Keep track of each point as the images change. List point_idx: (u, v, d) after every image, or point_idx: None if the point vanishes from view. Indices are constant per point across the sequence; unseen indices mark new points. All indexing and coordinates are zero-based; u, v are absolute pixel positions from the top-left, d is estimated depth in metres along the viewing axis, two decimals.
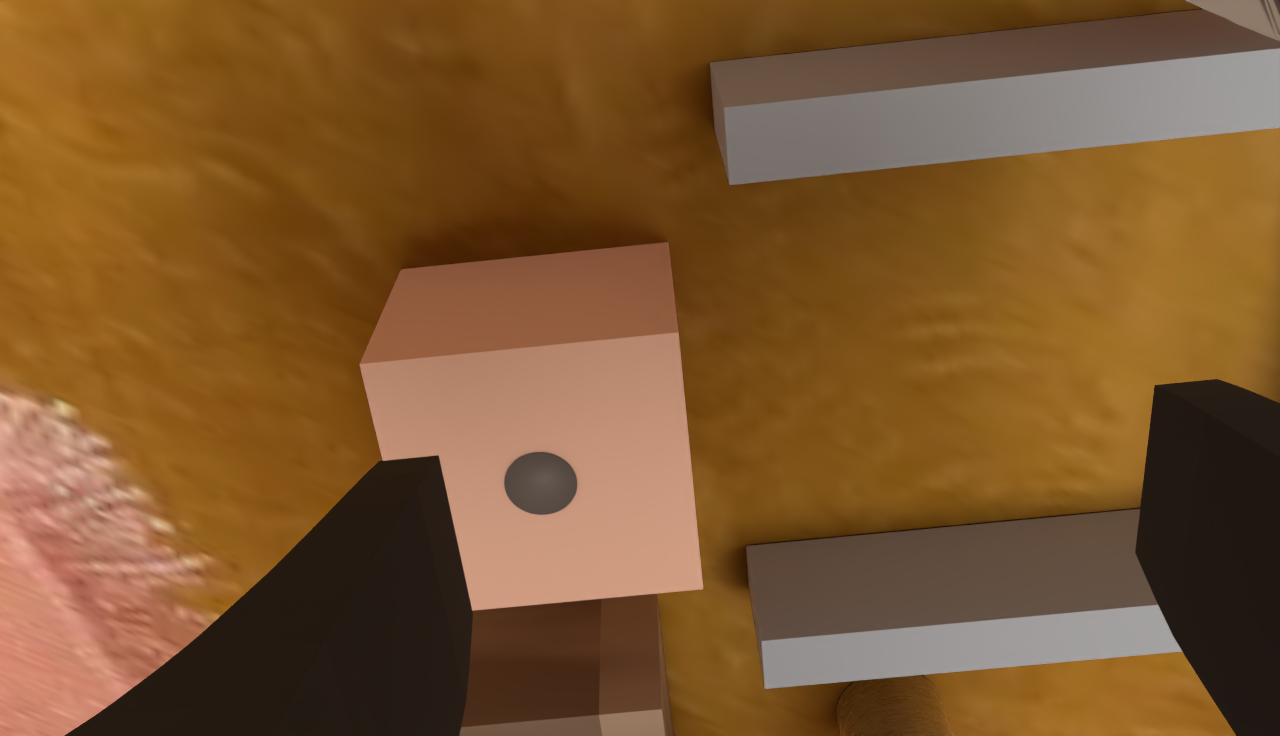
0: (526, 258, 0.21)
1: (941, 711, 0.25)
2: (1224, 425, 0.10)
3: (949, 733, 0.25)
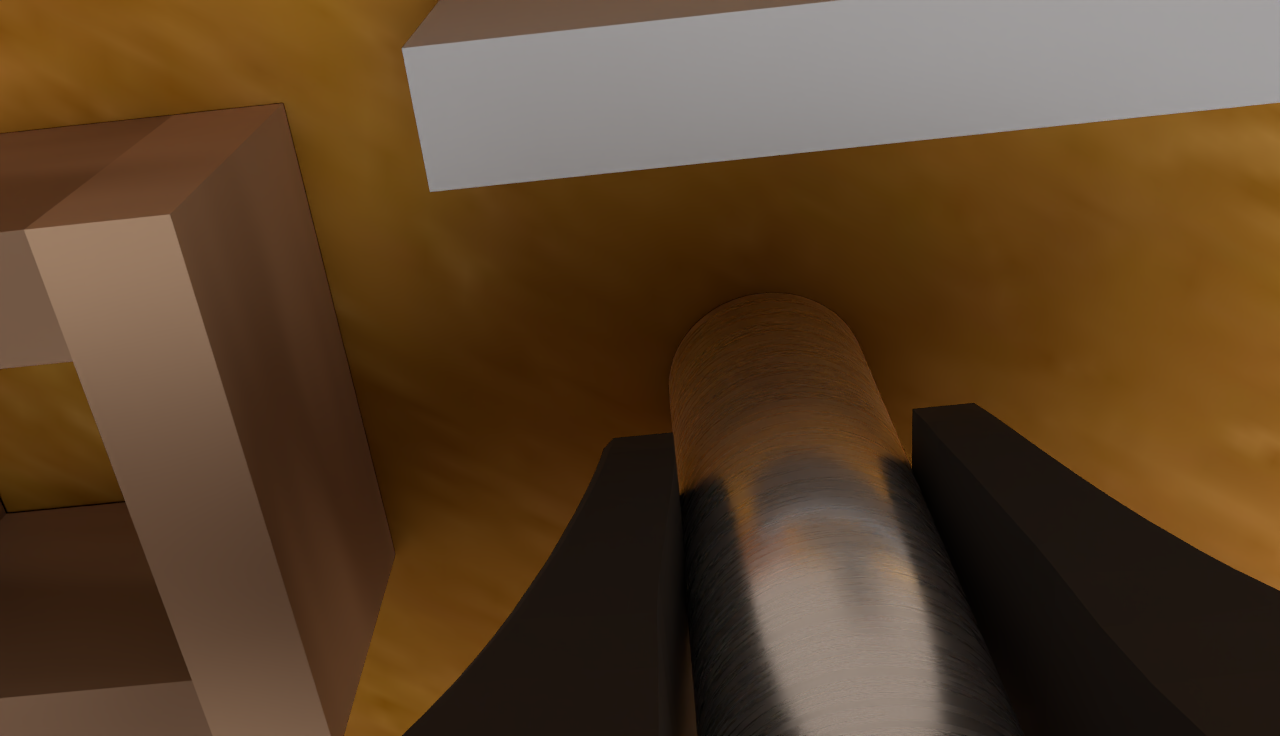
0: None
1: (861, 359, 0.13)
2: (951, 451, 0.10)
3: (873, 387, 0.12)
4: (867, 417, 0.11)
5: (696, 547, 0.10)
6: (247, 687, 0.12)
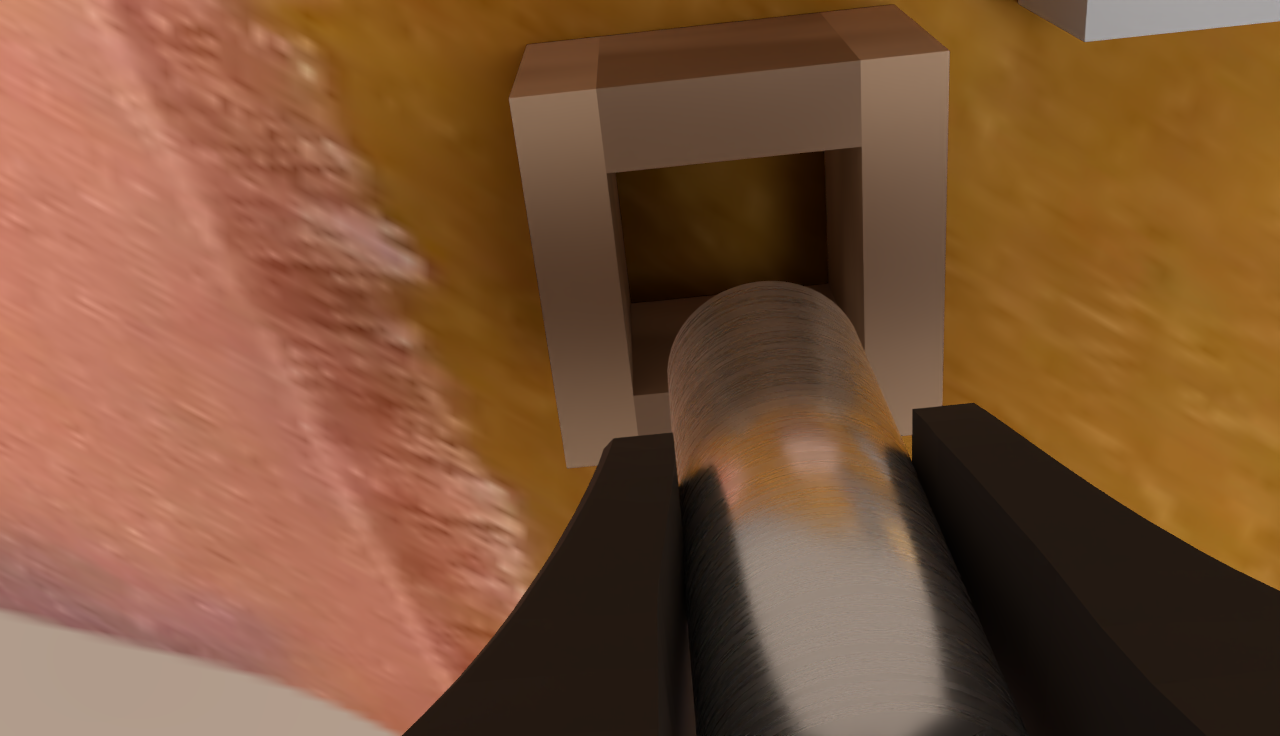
0: None
1: (857, 346, 0.13)
2: (951, 451, 0.10)
3: (870, 373, 0.12)
4: (862, 400, 0.11)
5: (693, 530, 0.10)
6: (898, 378, 0.18)
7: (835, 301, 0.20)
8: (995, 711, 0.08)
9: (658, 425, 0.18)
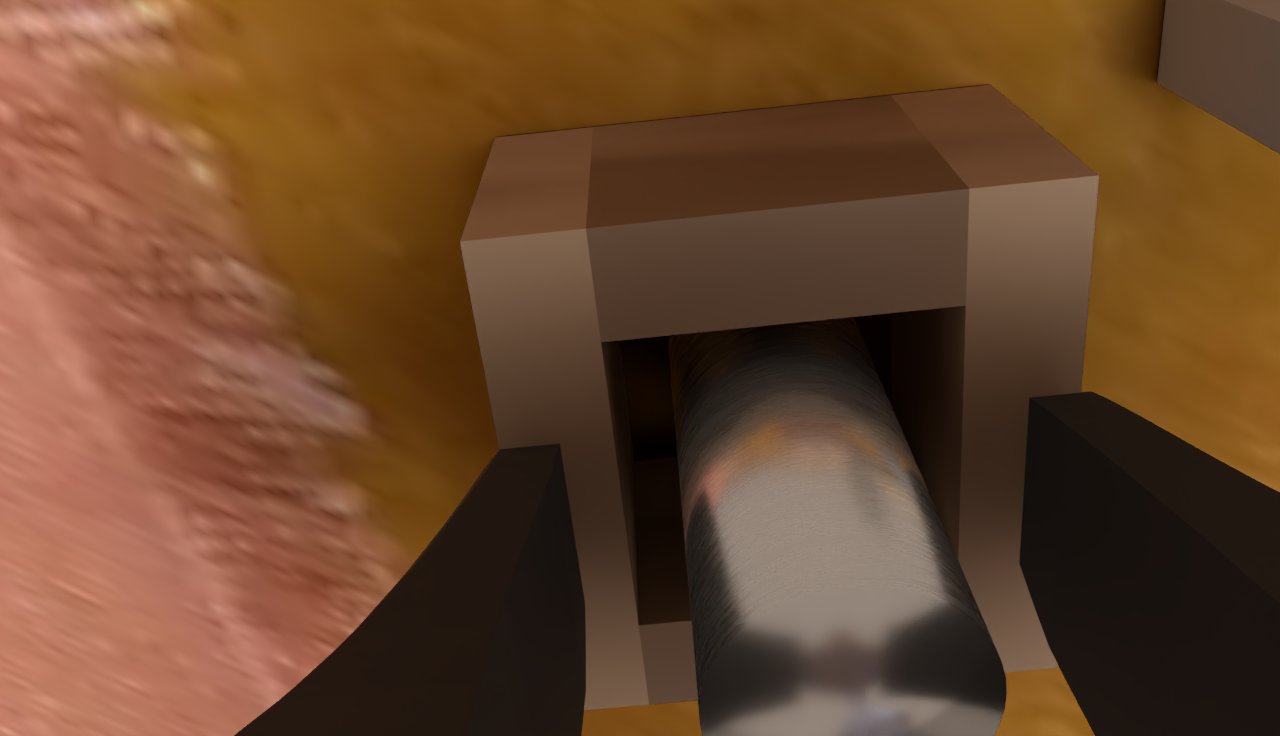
0: None
1: None
2: (1083, 439, 0.10)
3: (852, 323, 0.14)
4: (844, 343, 0.12)
5: (689, 455, 0.12)
6: (1002, 602, 0.13)
7: None
8: (951, 590, 0.09)
9: (672, 662, 0.13)
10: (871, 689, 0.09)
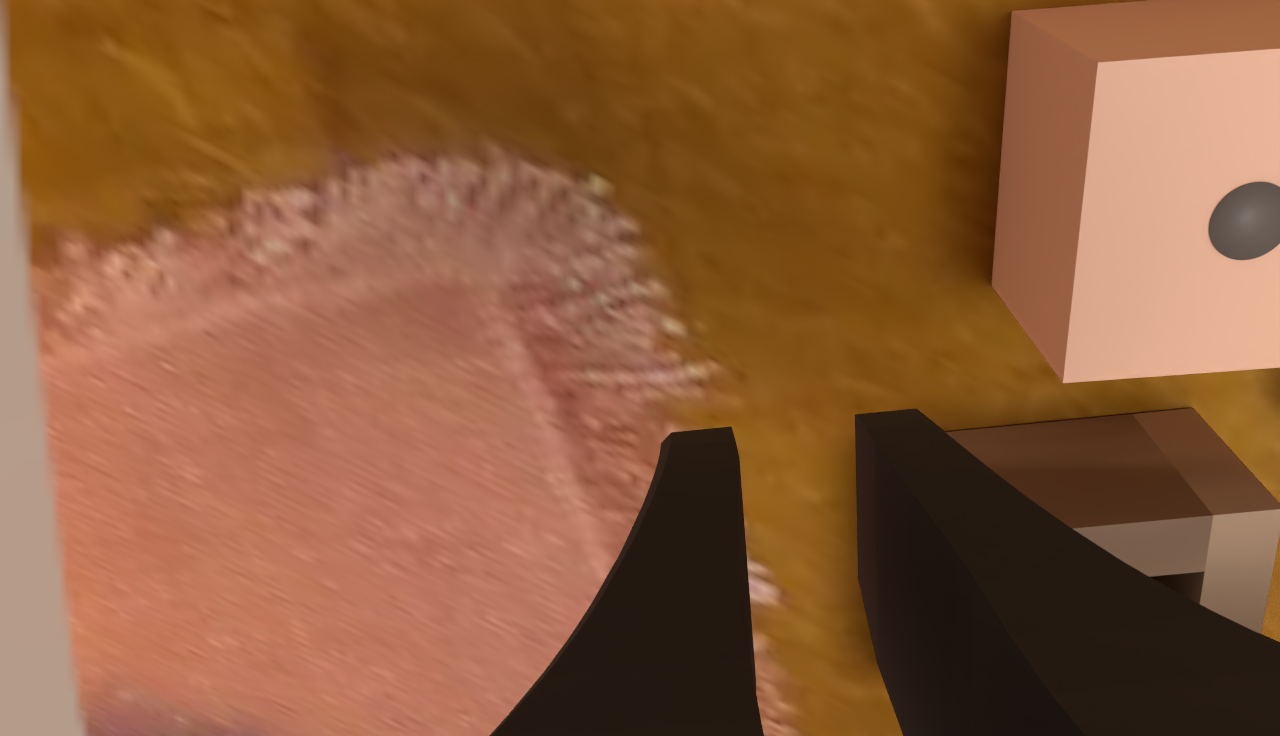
0: (1156, 1, 0.19)
1: None
2: (886, 458, 0.10)
3: None
4: None
5: None
6: None
7: None
8: None
9: None
10: None
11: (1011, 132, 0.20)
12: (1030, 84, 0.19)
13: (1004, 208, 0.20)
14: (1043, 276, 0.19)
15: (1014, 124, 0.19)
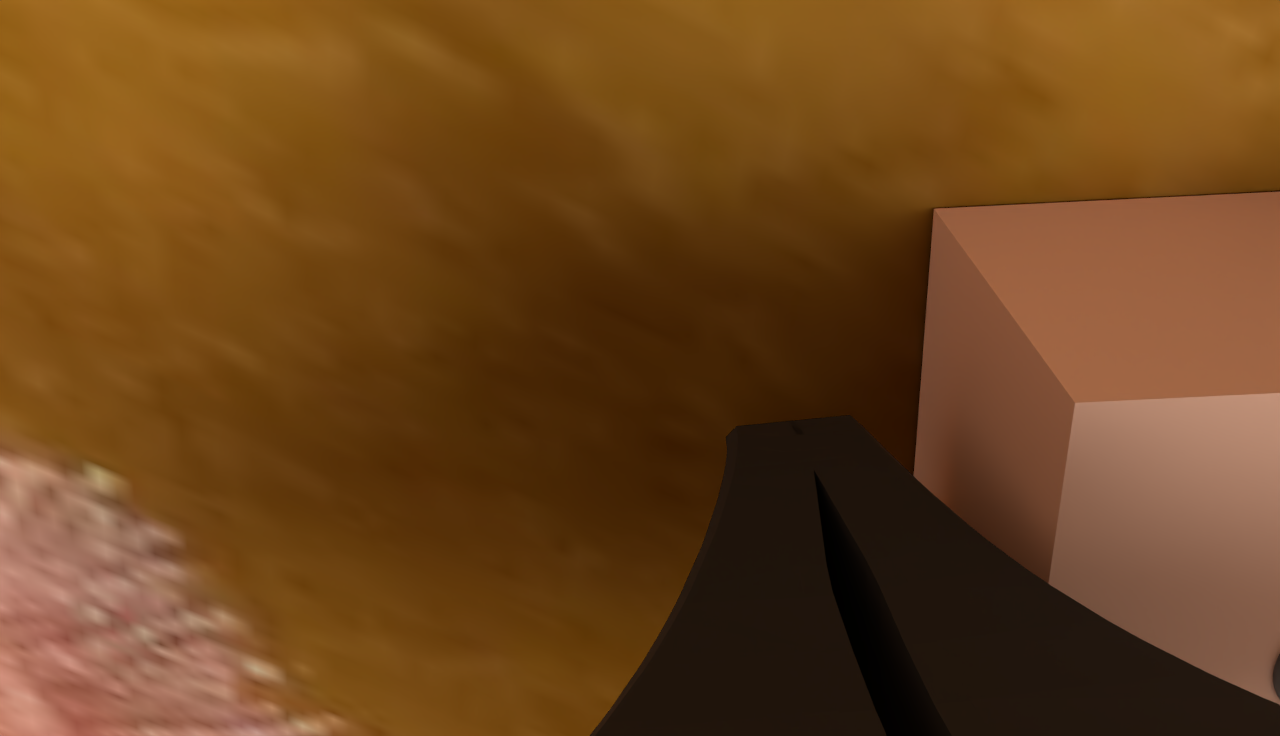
0: (1179, 204, 0.11)
1: None
2: (812, 465, 0.10)
3: None
4: None
5: None
6: None
7: None
8: None
9: None
10: None
11: (934, 406, 0.12)
12: (962, 351, 0.11)
13: None
14: None
15: (938, 397, 0.12)
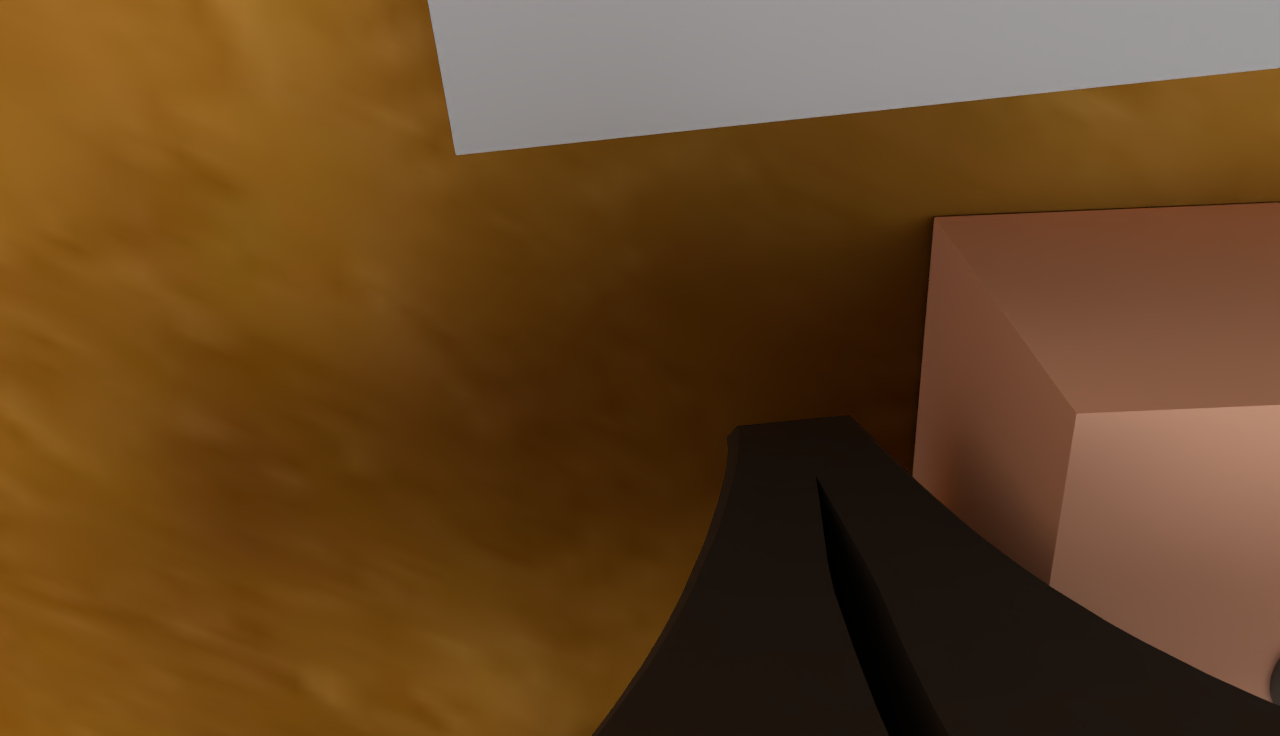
0: (1178, 215, 0.11)
1: None
2: (810, 465, 0.10)
3: None
4: None
5: None
6: None
7: None
8: None
9: None
10: None
11: (933, 414, 0.12)
12: (961, 360, 0.11)
13: None
14: None
15: (938, 405, 0.12)
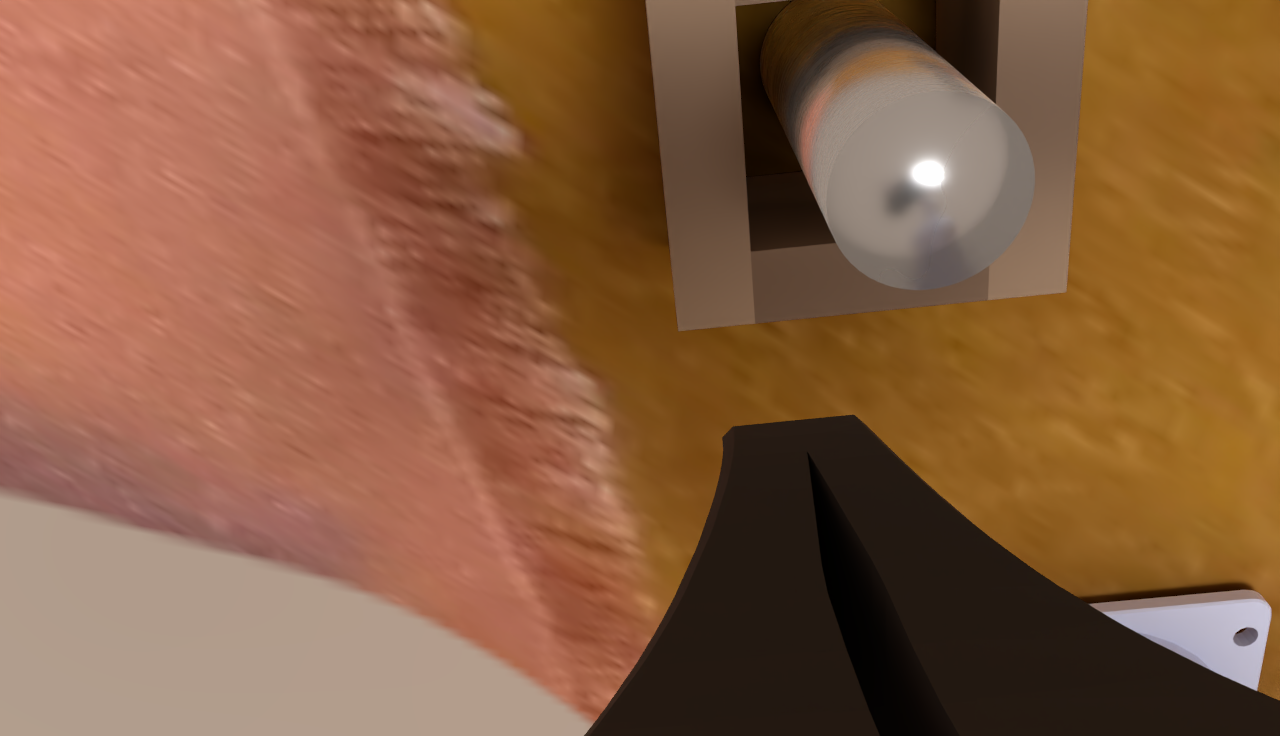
0: None
1: None
2: (816, 464, 0.10)
3: None
4: (907, 28, 0.17)
5: (798, 92, 0.16)
6: (1024, 233, 0.17)
7: None
8: None
9: (774, 284, 0.18)
10: (943, 178, 0.13)
11: None
12: None
13: None
14: None
15: None
